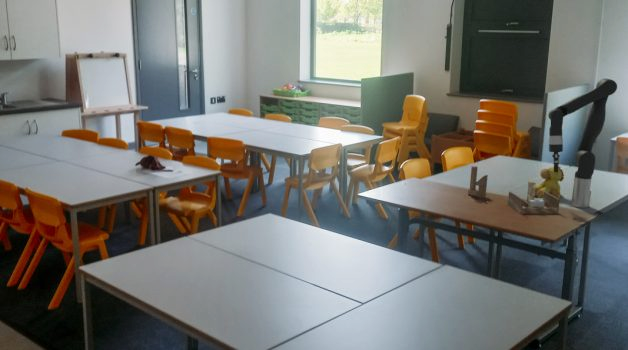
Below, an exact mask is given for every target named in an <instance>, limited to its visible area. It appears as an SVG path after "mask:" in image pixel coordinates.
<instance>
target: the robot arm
mask: <svg viewBox="0 0 628 350" xmlns="http://www.w3.org/2000/svg"><path fill="white" fill-rule="evenodd" d="M617 89H618V83H617V82H616V81H615V80H613V79H611V78H601V79H600V80H599V81H598V82H597V83H596V86H595V88H594V89H592V90H590V91H588V92H586V93H583V94H580V95H578V96H576V97H574V98H572V99H570V100H568V101H566V102H564V103H563V104H560V105H558V106H557V107H555V108H552V109H551V110H550V111H548V115H547V116H548V119H549V120H550V126H549V132H548V134H549V136H548V137H549V138H548V152H549V153H552V154H551V156H552V157H551V158H552V164H553V167H554V172H558V166H559V165H560V158H561V157H560V154H559V153H562V152H563V151H564V144H563V143H564V139H563V125H564V124H563V123H564V118H565V117H566V116H568V115H571V114H573V113H575V112H577V111H579V110H580V109H582V108H584V107H586V106H588V105H589V104H592V105H591V107H590V110H589V113H588V117H587V119H586V123H585V126H584V129H583V130H584V131H583V134H582V138H581V140H580V143H579V146H578V148H577V150H576V153H575V156H574V158H575V162H576V163H577V164H578V165H577V166H578V167H577V171H575V172H574V178H573V186H572V187H573V188H572V195H571V202H570V204H571V206H572V207H575V208H581V209H582V208H583V209H584V208H590V204H591V196H592V191H591V185H592V184H591V183H592V178H593V174H594V171H595V166H596V155H595V154H594V153H593V152H592V150H593V147H594V143H595V142H596V140H597V139H598V137H599V135H600V134H601V132H602V131H603V129H604V125H605V121H606V114H607V113H606V109H607V108H606V106H607V101H608V99H609V97H610V96H613V95H614V94H615V92H617ZM559 167H560V166H559Z"/></svg>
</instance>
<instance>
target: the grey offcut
mask: <svg viewBox="0 0 628 350" xmlns="http://www.w3.org/2000/svg"><path fill="white" fill-rule="evenodd" d="M544 202H545V201H543V199H534V200H529V201H528V205H529V206H530V207H544Z"/></svg>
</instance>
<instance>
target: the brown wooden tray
mask: <svg viewBox="0 0 628 350" xmlns="http://www.w3.org/2000/svg"><path fill="white" fill-rule="evenodd" d="M507 197H508V198H507V200H508V201H507V205H508V206H509V208H512V209H513V210H515V211H516V212H517V213H518V214H535V215H536V214H539V215H540V214H545V215H546V214H549V215H551V214H552V215H554V214H559V211H560V202H561V201H560V200H561V199H560V198H559V199H558V198H556V197H554V196H553V195H551V194H549V193H547V192H544V194H543V198H542V200H543V201H545V202H544V208H528V202H526V201H527V200H524V198H522V197H520V196H519V195H518V194H516V193H514V192H513V191H509V190H508V196H507Z"/></svg>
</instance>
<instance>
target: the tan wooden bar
mask: <svg viewBox="0 0 628 350" xmlns="http://www.w3.org/2000/svg"><path fill="white" fill-rule="evenodd" d="M527 184H528V185H527V192H526V200H525V201H526V202H528V201H529V200H535V196H534V195H535V186H537V182H536V181H534V180H528V182H527Z"/></svg>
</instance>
